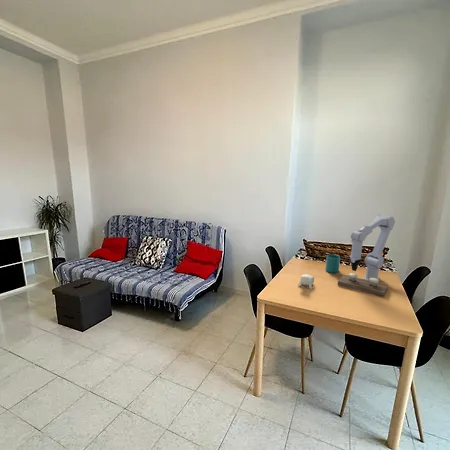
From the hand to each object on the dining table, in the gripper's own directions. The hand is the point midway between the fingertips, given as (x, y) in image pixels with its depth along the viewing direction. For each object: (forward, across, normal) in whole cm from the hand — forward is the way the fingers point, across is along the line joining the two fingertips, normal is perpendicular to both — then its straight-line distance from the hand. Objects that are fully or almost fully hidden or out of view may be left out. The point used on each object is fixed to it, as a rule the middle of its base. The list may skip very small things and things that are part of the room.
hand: (354, 270), depth 173 cm
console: (+9, +2, +6) cm, 11 cm away
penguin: (+10, +23, -22) cm, 34 cm away
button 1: (+6, +2, 0) cm, 7 cm away
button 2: (+6, +2, +12) cm, 14 cm away
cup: (+10, -16, -18) cm, 26 cm away
